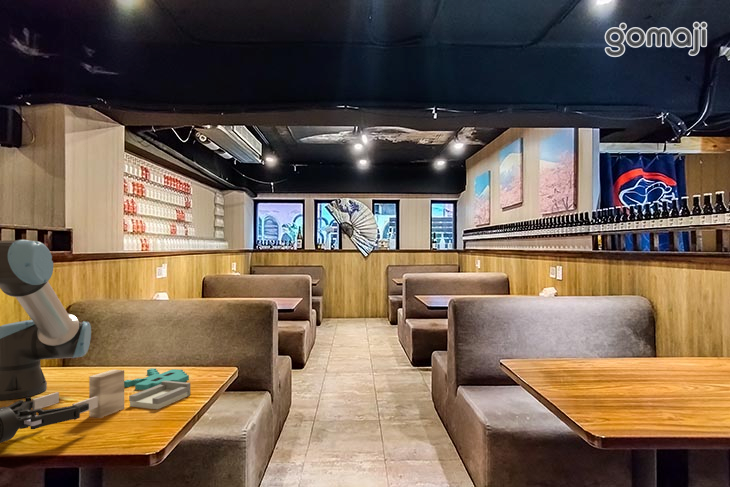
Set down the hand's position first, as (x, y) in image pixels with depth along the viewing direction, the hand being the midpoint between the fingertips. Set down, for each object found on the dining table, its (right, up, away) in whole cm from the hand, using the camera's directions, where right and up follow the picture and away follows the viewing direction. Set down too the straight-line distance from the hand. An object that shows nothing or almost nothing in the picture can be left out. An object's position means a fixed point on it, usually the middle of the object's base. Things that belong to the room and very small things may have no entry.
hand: (77, 399), depth 121 cm
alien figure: (+3, -8, +40) cm, 41 cm away
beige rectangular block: (+3, -7, +9) cm, 11 cm away
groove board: (+14, -7, +19) cm, 24 cm away
